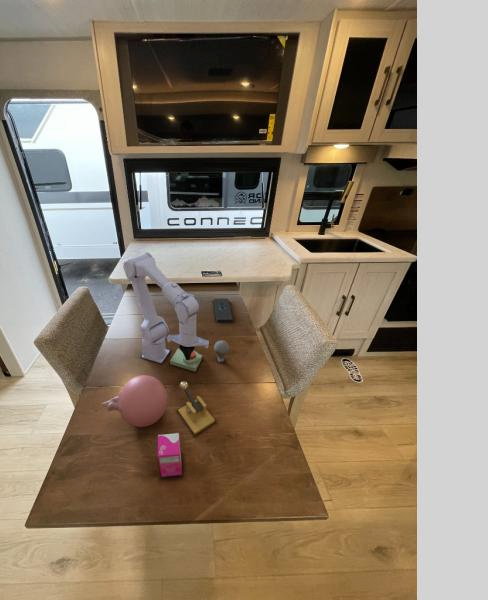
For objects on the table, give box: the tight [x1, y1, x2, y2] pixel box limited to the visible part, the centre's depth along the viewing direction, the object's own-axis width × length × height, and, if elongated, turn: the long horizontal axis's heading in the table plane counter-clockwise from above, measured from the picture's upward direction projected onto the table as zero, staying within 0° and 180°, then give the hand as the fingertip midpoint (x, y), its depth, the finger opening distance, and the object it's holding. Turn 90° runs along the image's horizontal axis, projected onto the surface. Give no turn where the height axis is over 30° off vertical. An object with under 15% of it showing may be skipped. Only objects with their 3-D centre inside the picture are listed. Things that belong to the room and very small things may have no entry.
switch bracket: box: [177, 395, 216, 436], centre depth 86 cm, size 10×8×7 cm
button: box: [190, 350, 195, 360], centre depth 106 cm, size 4×4×2 cm
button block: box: [169, 347, 203, 372], centre depth 108 cm, size 11×8×4 cm
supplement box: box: [157, 432, 183, 478], centre depth 72 cm, size 6×6×12 cm
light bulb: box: [213, 340, 230, 363], centre depth 107 cm, size 6×6×10 cm
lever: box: [179, 380, 202, 413], centre depth 87 cm, size 11×3×3 cm, turn 33°
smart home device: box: [213, 298, 234, 323], centre depth 140 cm, size 8×2×20 cm
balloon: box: [101, 374, 168, 428], centre depth 84 cm, size 15×20×15 cm
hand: (188, 358), depth 96 cm, fingers closed
